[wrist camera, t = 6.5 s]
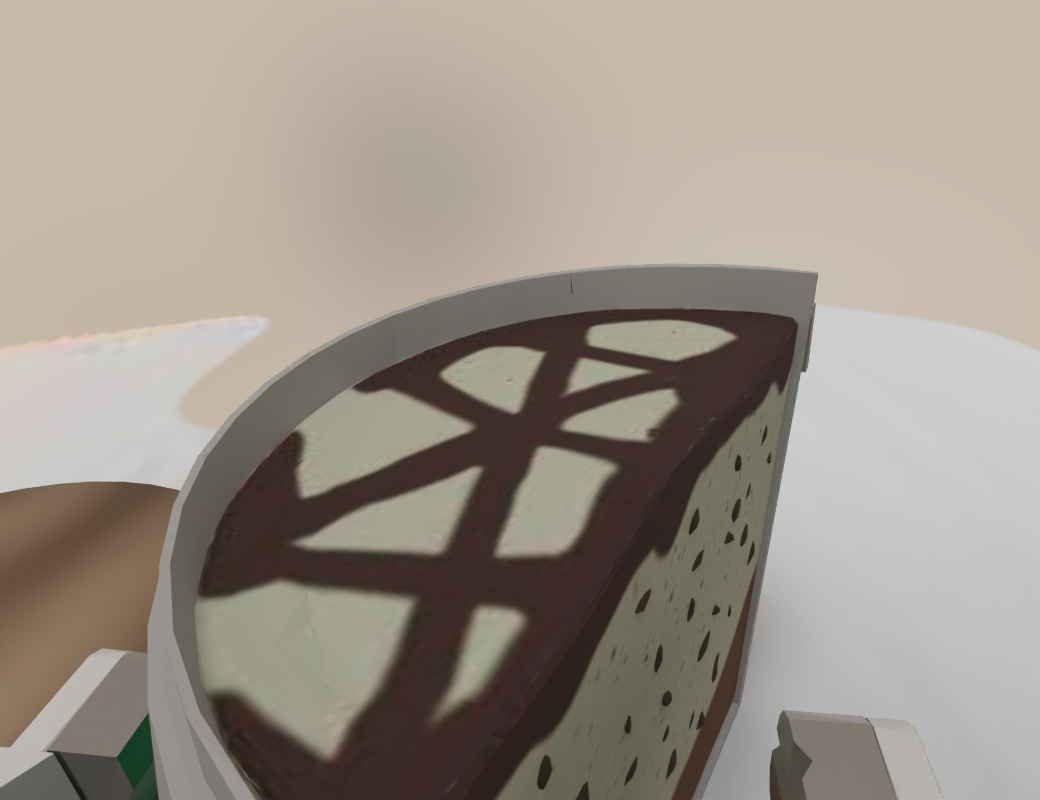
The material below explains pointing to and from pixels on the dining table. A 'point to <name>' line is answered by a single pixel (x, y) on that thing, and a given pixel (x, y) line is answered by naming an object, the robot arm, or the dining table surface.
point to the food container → (485, 546)
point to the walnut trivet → (73, 584)
